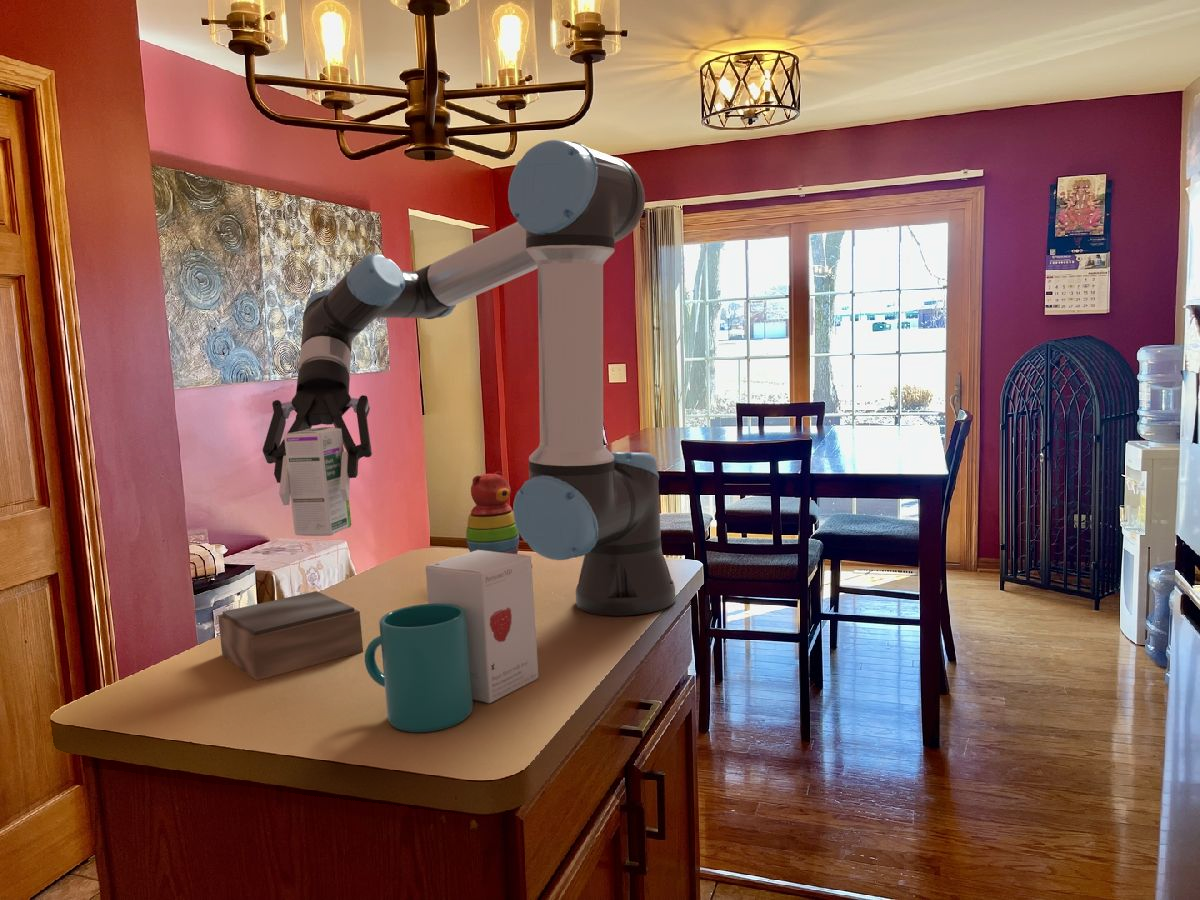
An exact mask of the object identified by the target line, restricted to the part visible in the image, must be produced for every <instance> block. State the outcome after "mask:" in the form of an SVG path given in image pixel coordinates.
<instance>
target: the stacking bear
mask: <svg viewBox="0 0 1200 900" xmlns="http://www.w3.org/2000/svg"><path fill="white" fill-rule="evenodd" d="M511 491H512V489H511V485H510V484H509V482H508V481H507V479H505V478H504V477H503V474H502V472H501V471H495V472H493V473H484V474H481V475H476V476H474V477H473V478H472V484H471V487H470V495H471V498H472V500H473V502H474V503H475V506H474V507H473V508H472V509H471V510H470V513H469V515H468V517H467V527H466V532H465V533H466V535H465V536H466V537H465V538H466V544H467V548H468V551H469V552H473V551H476V550H485V551H493V552H501V553H509V554H519V544H520V534H519V532H518V530H517V527H516V525H515V521H514V516H513V507H512V506H511V505H510V504H509V503H507V502H508V500H509V498H510V496H511V494H512V493H511Z"/></svg>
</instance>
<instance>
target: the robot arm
mask: <svg viewBox="0 0 1200 900" xmlns="http://www.w3.org/2000/svg"><path fill="white" fill-rule="evenodd" d="M508 183H509V184H508V190H507V196H508V197H507V199H508V203H509V204H508V206H509V209H510V212H511V213H512V215H513V217H514V218H515V219H516V222H514V223H512V224H510V225H508V226H506V227H504V228H502V229H500V230H498V231H496V232H494V233H492V234H490V235H488V236H486V237H483V238H481V239H480V240H477V241H475V242H474V243H471V244H468V245H467V246H466V247H463V248H461V249H459V250H456V251H455V252H453V253H450V254H449V255H446V256H445V257H443V258H440V259H438V260H437V261H434V262H433V263H430V264H429V265H426V266H424V267H421V268H420V269H418V270H414V271H412V270H401V269H400V267H399V266H398V264H396V262H394V261H393V260H392V259H391V258H386V257H385V256H384V255H383V254H380V253H371V254H370V253H369V254H368V255H366V256H365V257H363V258H362V259H361V260H360V261H359V262H357V263H356V264H355V265H353V266H352V267H351V268H350V269H349V271H348V272H347V273H346V274H345V275H344V276H343V277H342V278H341V279H340V280H339V282H338V283H337V284H336V285H334V287H333V288H332V289H324V290H323V289H322V290H320V291H319V292H318V291H317V292H314V293H313V294H311V295H310V296H309V298H308V299H307V301H306V304H305V309H304V312H303V315H302V329H301V331H302V332H301V343H300V352H299V361H298V368H297V369H298V372H297V380H296V389H295V395H294V396H293V397H292V399H291V401H286V402H281V401H280V400H279V399H274V400H273V401H272V404H271V405H272V411H273V414H272V417H271V421H270V424H269V427H268V431H267V434H266V438H265V441H264V444H263V447H262V454H263V456H264V458H265V459H264V460H265V461H266V463H267V464H268V465H269V464H270V465H271V464H274V470H273V471H274V472H273V475H274V478H275V480H276V483H278V484H279V492H278V494H279V498H280V500H281V502H282V505H283V506H290V503H291V494H290V486H289V477H288V468H287V458H286V449H285V440H284V438H283V436H284V432H285V428H286V423H287V421H286V420H287V419H289V418H290V413H292V412H293V411H294V413H296V415H295V419H294V421H293V423H292V425H291V427H290V428H289V430H288V431H287V433H286V434H288V433H293V432H298V431H303V430H306V429H312V427H313V426H319V425H325V426H328V425H329V426H331V425H333V426H334V428H341V430H342V439H343V448H344V449H345V451H344V452H342V460H341V477H340V492H341V495H342V499H343V501H349V502H350V483H351V482H350V481H351V480H350V479H357V476H358V472H359V461H360V459H361V458H363V457H364V458H370V457H371V456H372V454H373V452H372V445H371V439H370V438H371V437H370V431H369V422H368V415H369V413H370V410H371V409H370V403H369V399H368V396H367V395H360V396H359V397H358V398H357V397H356V398H355V397H351V394H350V379H351V378H350V377H351V376H350V375H351V363H352V362H351V361H352V345H353V340H354V338H355V337H357V336H358V335H359V334H360V333H361V332H362V331H364V330H365V329H366V328H367V327H368V326H369V325H370V324H371V323H372V322H373V321H374V320H376V319H378V318H383V319H384V318H385V319H386V318H393V319H396V318H398V319H399V318H400V319H401V318H402V319H403V318H405V319H424V320H434V319H438V318H444V317H447V316H449V315H450V314H451V313H452V312H453V310H454V309H455V308H456V306H457V305H458V304H460V303H463V302H465V301H467V300H469V299H472V298H473V297H477V296H478V295H480V294H482V293H483V294H484V293H485V292H487V291H489V290H493V289H494V288H497V287H499V286H501V285H504V284H506V283H508V282H510V281H513V280H515V279H517V278H519V277H521V276H523V275H526V274H528V273H531V272H533V271H535V270H537V293H538V294H537V300H538V302H537V305H538V307H537V310H538V311H537V312H538V315H537V316H538V317H537V318H538V374H539V375H538V382H539V383H538V384H539V385H538V389H539V391H538V392H539V394H538V395H539V445H538V447H537V448H535V450H534V451H533V452H532V453H531V454H530V455H529V456H528V479H527V480H525V481H524V483H523V484H522V485H521V487H520V488H519V490H517V491H516V494H515V496H514V500H513V504H512V505H513V506H512V511H513V516H514V521H515V525H516V527H517V530H518V532H519V537H520V538H521V539H522V540H523V541H524V542H525V543H526V544H527V545H528V546H529V547H530V549H531V550H532V551H533V552H535V553H536V554H538V555H540V556H541V557H543V558H546V559H550V560H553V561H565V560H566V561H567V560H570V559H572V558H573V559H574V558H579V557H583V560H582V565H581V568H580V573H579V578H578V584H577V585H576V588H575V602H576V603H575V604H576V607H577V608H578V609H579V610H582V611H583V612H586V613H589V614H595V615H601V616H615V617H616V616H619V617H620V616H633V615H636V616H637V615H643V614H648V613H649V614H651V613H654V612H657V611H660V610H663V609H666V608H669V607H670V606H672V605H673V604H674V603H675V602H676V585H675V583H674V580H673V579H672V576H671V573H670V570H669V567H668V564H667V561H666V559H665V556H664V553H663V551H662V550H663V549H662V539H661V538H662V537H661V535H662V534H661V532H662V531H661V513H660V512H661V510H660V509H661V508H660V492H659V491H660V489H659V480H660V474H659V472H658V464H657V459H656V457H655V456H654V455H653V454H652V453H650V452H625V451H624V452H622V451H621V452H620V451H619V452H614V451H613V452H610V450H609V449H608V448H607V447H605V445H604V265H605V263H606V262H607V260H608V259H610V257H611V256H612V255H613V254H614V253H615V243H617V242H619V241H621V240H623V239H624V238H627V236H629V235H630V234H631V233H632V232H633V231H634V230H635V229H636V228H637V226H638V224H639V222H640V221H641V219H642V216H643V215H644V211H645V204H646V195H645V188H644V185H643V182H642V179H641V178H640V176H639V174H638V173H637V171H636V170H635V169H634V168H633V167H632V166H631V165H630V164H629V163H628V162H627V161H624V160H623V159H621V158H619V157H617V156H614V155H611V154H607V153H603V152H601V151H598V150H595V149H592V148H590V147H586V146H585V145H584V144H582V143H580V142H576V141H566V140H561V139H550V140H545V141H542V142H539V143H537V144H536V145H534V146H532V147H531V148H530V149H528V150H527V151H526V152H525V153H524V155H523V156H522V158H521V159H520V160H518V162H517V163H516V165H515V166H514V169H513V171H512V173H511V176H510V179H509V182H508ZM351 408H352V409H353V412H354V413H356V418H357V425H358V433H359V439H360V440H359V441H360V442H359V443H360V444H357V445H356V443H355V441H354V440H353V437H352V435H351V433H350V431H349V429H348V427H347V425H346V422H345V421H344V419H343V415H344V414H346V412H347V411H348V410H350V409H351ZM282 439H283V440H282Z"/></svg>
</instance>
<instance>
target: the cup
mask: <svg viewBox="0 0 1200 900" xmlns="http://www.w3.org/2000/svg"><path fill="white" fill-rule="evenodd" d="M378 625H379V633H380V634H379V635H378V636H376V637H375V638H373V639H372V640H371V641H370V642H369V643H368V645H367V647H366V649H365V651H364V665H365V669H366V671H367V673H368V675H369V676H370V678H371V679H372V680H373V681H374V683H376V684H377V685H379V686H381V687H384V693H385V695H384V696H385V704H386V715H387V720H388V723H389V724H390V725H391V726H392V727H394V728H396V729H398V730H400V731H403V732H404V731H405V732H408V733H409V732H410V733H429V732H436V731H441V730H445V729H449V728H450V727H451V728H452V727H453V726H456V725H458V724H460V723H462V722H463V721H465V720H466V719H467V718H468V717H469V716H470V715H471V713H472V711H473V706H474V704H473V701H474V699H472V686H471V673H470V660H469V646H468V633H467V620H466V611H465V609H464V608H462V607H460V606H457V605H453V604H443V603H433V604H428V603H422V604H416V605H415V604H414V605H408V606H405V607H401V608H398V609H395V610H392V611H390V612H387V613H386V614H384V615H383V616H381V618H380V619H379V623H378ZM379 647H381V658H382V667H383V668H382V670H383V672H382V671H381V670H380V667H379V666H378V664H377V660H376V652H377V649H378V648H379Z"/></svg>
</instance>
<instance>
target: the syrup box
mask: <svg viewBox="0 0 1200 900" xmlns="http://www.w3.org/2000/svg"><path fill="white" fill-rule="evenodd" d="M287 433H288V432H287ZM287 433H285V434H283V439H284V440H285V449H286V458H287V468H288V477H289V486H290V503H291V509H292V511H291V513H292V518H293V527H294V528H293V529H294V534H295V536H301V537H302V536H303V537H304V536H305V537H329V536H333V535H334V534H336V533H338V532H341V531H343V530H346V529H349V528H351V527H352V519H351V518H352V517H351V509H350V500H349V501H343V499H342V495H341V492H340V477H341V460H342V452H345V450H344V449H345V448H344V445H343V439H342V430H341V428H335V427H325V426H324V427H314V428H311V429H306V430H303V431H298V432H293V433H288V434H287Z"/></svg>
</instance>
